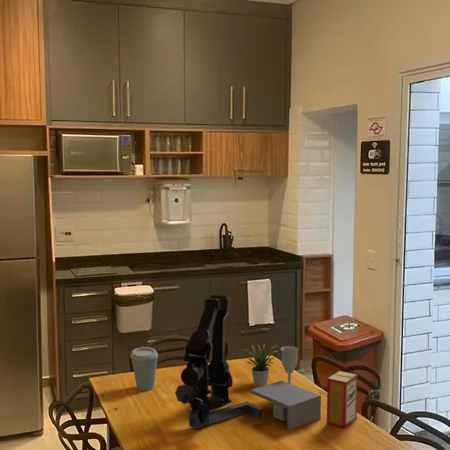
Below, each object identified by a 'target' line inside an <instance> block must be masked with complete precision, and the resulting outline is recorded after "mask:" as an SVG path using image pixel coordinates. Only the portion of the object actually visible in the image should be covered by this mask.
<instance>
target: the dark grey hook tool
mask: <svg viewBox="0 0 450 450" xmlns="http://www.w3.org/2000/svg"><path fill="white" fill-rule="evenodd" d="M188 413H189V415H188V417H189V418H188V421H189V423H188V427H191V428H192V429H195V430H196V429H200V428H202V427H206V426H209V425H210V424H214V423H218V422H221V421H226V420H229V419H232V418H235V417H238V416H241V415H246V414H248V415H250V416H252V417H254V418H256V419H263V418H264V408H262V407H260V406H258V405H255V404H254V403H251V402H249V401H245V402H241V403H237V404H233V405H229V406H225V407H221V408H217V409H214V410H210V412H209V414H208V416H207V418H206V420H205V422H204V423H201V420H200V409H195V410H192V409H190V410H189V412H188Z"/></svg>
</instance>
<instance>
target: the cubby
mask: <svg viewBox="0 0 450 450" xmlns="http://www.w3.org/2000/svg"><path fill="white" fill-rule="evenodd" d="M287 382H288V381H287ZM287 382H286V381H284V380H278V381H276V382H272V383H270V384H267V385H265V386H258V387H256V388H252V389H250V394H252V395H254V396H256V397H260V398H261V399H264V400H265V401H269V402H271V403H272V404H273V403H275V404H277V405H280V406H282V407H285V408H287V409H288V411H287V419H286V421H287V422H286V424H287V425H286V427H287V428H286V429H287V431H292V430H294V429H297V428H300V427H302V426H305V425H307V424H311V423H313V422H315V421H318V420H321V413H322V412H321V411H322V410H321V409H322V408H321V407H322V401H321V400H322V397H321V396H322V395H320V394H318V393H315V392H313V391H310V390H308V389H306V388H303V387H299V386H297V385H294V384H292V383H291V384H289V383H287Z"/></svg>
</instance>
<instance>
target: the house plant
mask: <svg viewBox="0 0 450 450" xmlns="http://www.w3.org/2000/svg"><path fill="white" fill-rule="evenodd" d="M256 345H257V347H258V348H259V349H257V348H256V347H255V346H254V345H251V347H252V350H253V354H252V353H251V352H250V351H248V350H247V349H243V350H244V351H247V352H249V354H250V355H252V357H253V359H252V358H250V357H247V359H248V360H249V361H246V362H245V363H247V364H251V366H252V367H251V374H252V379H253V385H254V386H256V387H262V386H265V385H268V379H269V374H270V367H272V365H274V362H273V361H272V360H273V359H274V358H275V356H273V357H271V356H272V355H273V354H274V353H278V350H274V351H272V350H273V349H275V348H276V347H278V345H275V346H272V347H270V348H269V349H266V344H265V343H264V344H263V345H262V349H261V346H260V345H259V343H256ZM258 350H259V352H258ZM271 351H272V352H271ZM267 366H269V367H267Z"/></svg>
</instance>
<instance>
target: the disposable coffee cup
mask: <svg viewBox="0 0 450 450" xmlns="http://www.w3.org/2000/svg"><path fill="white" fill-rule="evenodd" d="M158 357H159V352H157V350H156V349H155V348H152V347H150V346H149V347H148V346H142V347H137V348H134V349H133V350H132V351H131V353H130V359H131V362H132V368H133V373H134V374H133V375H134V379H135V384H136V389H137V390H139V391H142V392H143V391H144V392H145V391H150V390H153V389H154V387H155V383H156V382H155V381H156V375H157V373H156V372H157V365H158Z"/></svg>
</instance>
